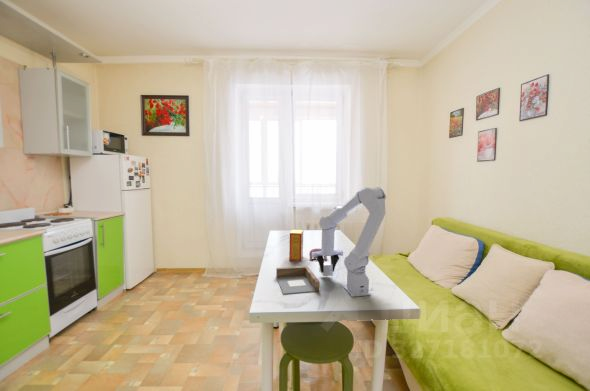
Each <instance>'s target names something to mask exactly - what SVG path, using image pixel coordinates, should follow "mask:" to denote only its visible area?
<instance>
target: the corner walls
mask: <svg viewBox="0 0 590 391" xmlns="http://www.w3.org/2000/svg"><path fill="white" fill-rule="evenodd" d="M293 276H306V278H307V279H308V281H309V282H310V284H311V285H312V287H313V288H314V290H315V292H314V293H320V280H319V278H318V277H317V276H316V275H315V274H314V272H313V271H312V270H311V269H310V267H309V266H308V265H303V266H302V265H301V266H300V265H299V266H287V267H276V275H275V277H276V279H277V278H279V277H293Z"/></svg>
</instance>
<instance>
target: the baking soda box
mask: <svg viewBox="0 0 590 391" xmlns="http://www.w3.org/2000/svg"><path fill="white" fill-rule="evenodd" d="M303 250H304V230H303V229H291V231H290V233H289V256H288V258H289V259H288V260H289V261H291V262H292V261H293V262H301V261H302V259H303V254H304V251H303Z"/></svg>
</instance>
